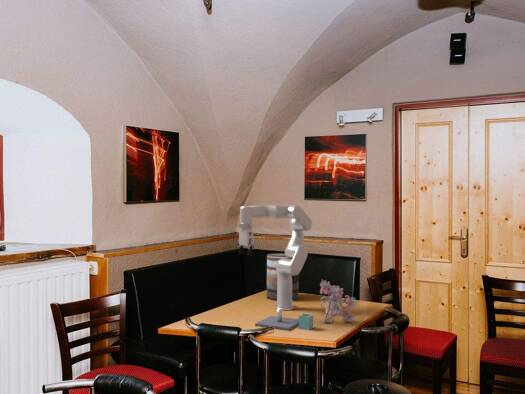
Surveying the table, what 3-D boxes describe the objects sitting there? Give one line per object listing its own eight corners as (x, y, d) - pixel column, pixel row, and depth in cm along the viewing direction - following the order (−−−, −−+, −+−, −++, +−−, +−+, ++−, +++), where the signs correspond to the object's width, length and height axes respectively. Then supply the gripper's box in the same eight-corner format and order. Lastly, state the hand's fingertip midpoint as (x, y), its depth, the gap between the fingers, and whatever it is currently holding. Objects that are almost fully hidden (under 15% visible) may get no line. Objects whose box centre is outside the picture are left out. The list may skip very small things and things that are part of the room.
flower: (344, 327, 272) (357, 283, 280) (307, 317, 284) (320, 275, 292) (355, 336, 288) (367, 294, 296) (319, 326, 300) (331, 286, 308)
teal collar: (302, 326, 281) (303, 313, 281) (313, 327, 278) (313, 314, 278) (298, 328, 276) (298, 315, 276) (309, 329, 273) (309, 316, 273)
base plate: (271, 318, 298) (271, 315, 298) (302, 322, 289) (302, 319, 289) (255, 326, 280) (255, 323, 280) (288, 330, 271) (288, 327, 271)
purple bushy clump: (340, 312, 316) (340, 293, 316) (339, 315, 307) (340, 296, 307) (321, 311, 319) (321, 292, 318) (319, 314, 310) (320, 295, 310)
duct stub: (278, 320, 286) (278, 308, 286) (282, 321, 285) (282, 308, 285) (275, 321, 284) (276, 309, 284) (280, 322, 282) (280, 309, 282)
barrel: (300, 301, 347) (300, 257, 347) (267, 301, 347) (267, 257, 347) (297, 294, 370) (297, 253, 369) (266, 294, 369) (266, 253, 369)
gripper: (259, 227, 300) (259, 256, 300) (243, 225, 314) (243, 253, 314) (248, 227, 296) (248, 257, 296) (233, 226, 310) (232, 254, 310)
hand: (245, 255), depth 305 cm, fingers open, 9 cm apart
